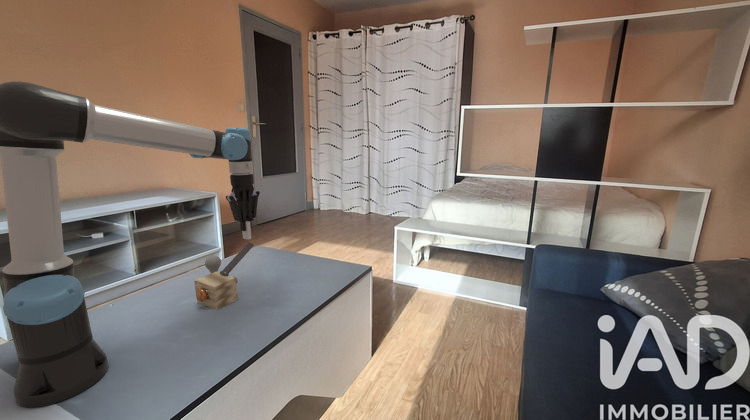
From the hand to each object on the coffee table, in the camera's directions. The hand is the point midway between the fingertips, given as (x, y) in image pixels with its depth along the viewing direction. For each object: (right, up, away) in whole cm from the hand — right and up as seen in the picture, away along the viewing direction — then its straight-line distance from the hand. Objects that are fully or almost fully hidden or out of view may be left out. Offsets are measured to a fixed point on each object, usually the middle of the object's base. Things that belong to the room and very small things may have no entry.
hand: (247, 238), depth 116 cm
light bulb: (-15, -17, +7) cm, 24 cm away
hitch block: (-7, -20, -8) cm, 23 cm away
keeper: (-2, -7, -2) cm, 8 cm away
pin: (-6, -18, -8) cm, 20 cm away
